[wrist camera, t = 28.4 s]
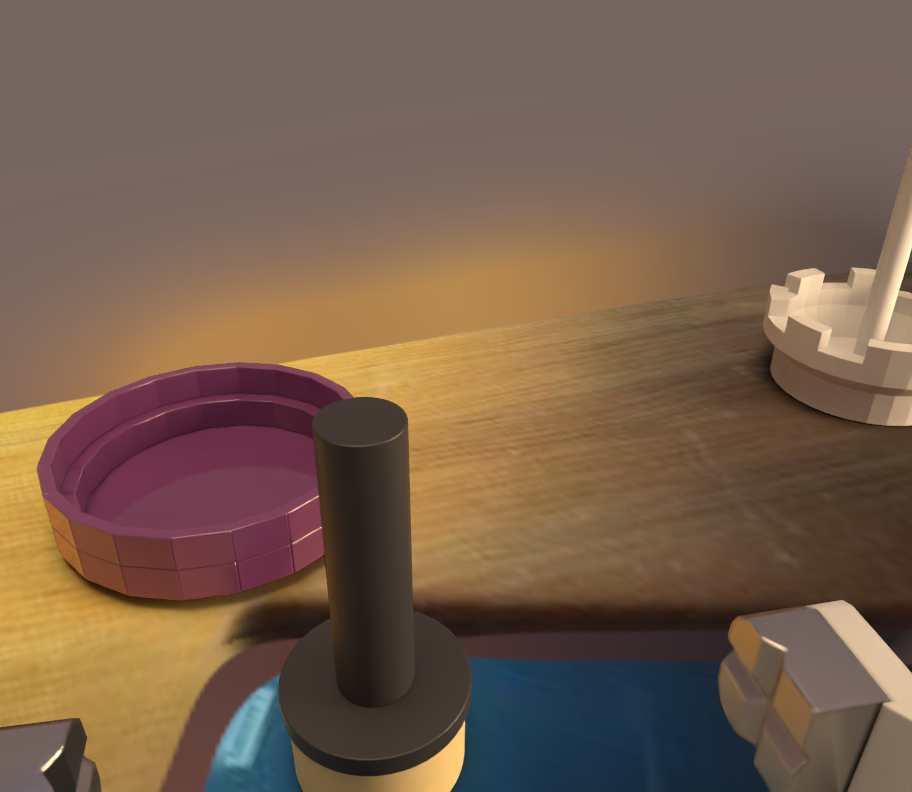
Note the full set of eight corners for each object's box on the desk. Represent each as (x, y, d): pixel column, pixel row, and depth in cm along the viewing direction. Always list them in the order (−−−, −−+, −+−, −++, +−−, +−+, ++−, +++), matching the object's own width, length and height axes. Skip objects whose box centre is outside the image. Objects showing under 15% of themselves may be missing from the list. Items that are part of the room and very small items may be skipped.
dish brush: (292, 853, 26) (236, 505, 19) (286, 692, 31) (241, 375, 24) (488, 815, 27) (503, 474, 20) (450, 666, 32) (451, 356, 26)
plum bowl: (24, 634, 34) (-3, 560, 32) (89, 437, 47) (73, 376, 45) (389, 583, 36) (386, 511, 34) (355, 411, 49) (351, 352, 47)
